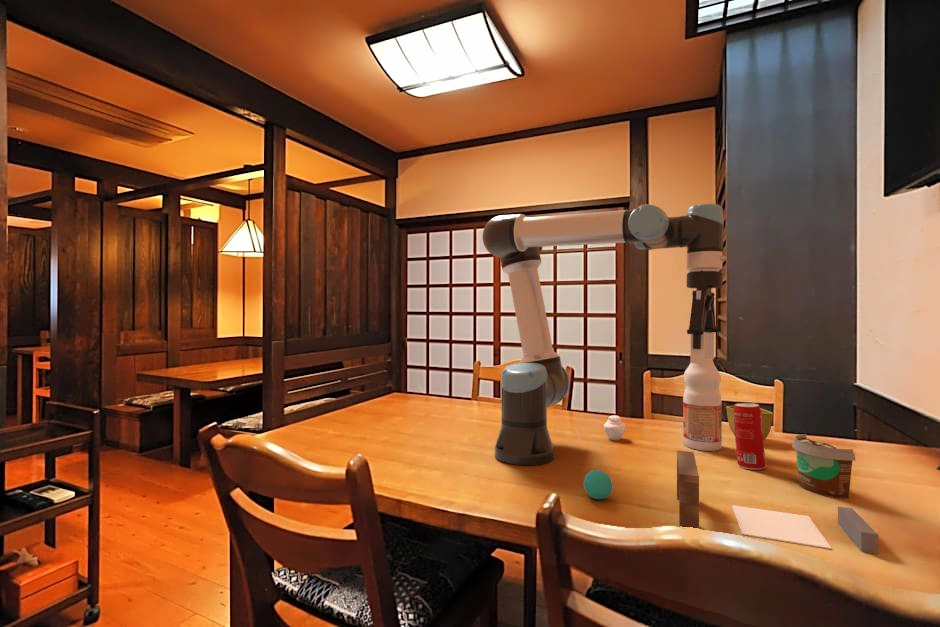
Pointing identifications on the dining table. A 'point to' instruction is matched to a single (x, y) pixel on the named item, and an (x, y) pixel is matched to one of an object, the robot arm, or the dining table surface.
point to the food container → (823, 467)
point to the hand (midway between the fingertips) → (702, 361)
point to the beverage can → (749, 436)
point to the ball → (598, 484)
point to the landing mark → (779, 526)
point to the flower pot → (766, 420)
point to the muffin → (614, 427)
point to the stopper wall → (858, 530)
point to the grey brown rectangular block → (687, 489)
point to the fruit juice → (702, 407)
